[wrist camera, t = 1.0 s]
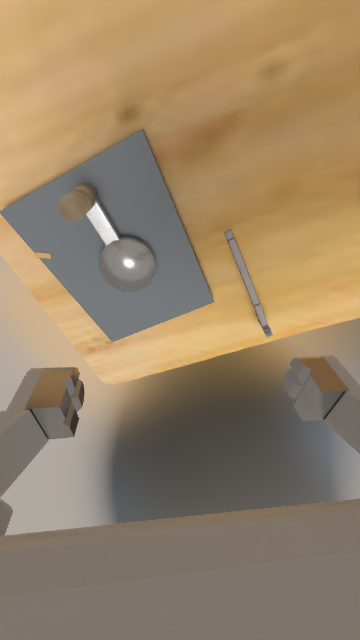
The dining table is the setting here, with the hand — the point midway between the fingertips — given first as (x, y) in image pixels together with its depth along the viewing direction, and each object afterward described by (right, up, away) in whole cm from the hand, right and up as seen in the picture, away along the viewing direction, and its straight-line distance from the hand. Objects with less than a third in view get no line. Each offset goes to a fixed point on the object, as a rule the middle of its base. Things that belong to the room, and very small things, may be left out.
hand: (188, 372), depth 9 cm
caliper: (+11, +9, +34) cm, 37 cm away
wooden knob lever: (-10, +13, +25) cm, 30 cm away
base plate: (-9, +12, +29) cm, 32 cm away
